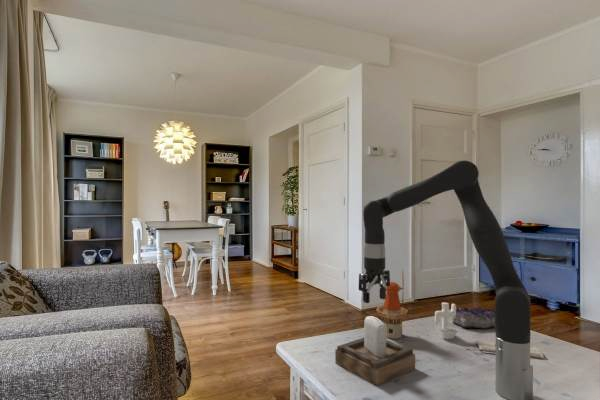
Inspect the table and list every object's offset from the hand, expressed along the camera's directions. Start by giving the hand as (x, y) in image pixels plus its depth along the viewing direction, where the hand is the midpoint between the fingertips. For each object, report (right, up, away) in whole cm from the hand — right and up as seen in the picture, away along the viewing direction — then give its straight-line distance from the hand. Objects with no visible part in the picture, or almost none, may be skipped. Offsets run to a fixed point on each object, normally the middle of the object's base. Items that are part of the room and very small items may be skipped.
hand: (374, 300), depth 128 cm
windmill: (+14, -24, +28) cm, 39 cm away
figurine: (+37, -24, +28) cm, 52 cm away
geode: (+57, -24, +42) cm, 75 cm away
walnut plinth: (0, -24, 0) cm, 24 cm away
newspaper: (+57, -25, +13) cm, 63 cm away
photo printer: (0, -19, 0) cm, 19 cm away
